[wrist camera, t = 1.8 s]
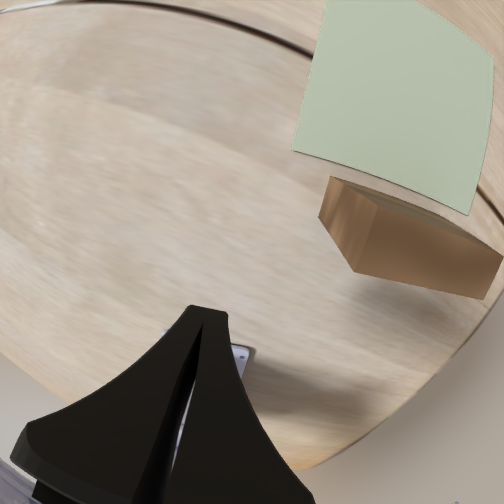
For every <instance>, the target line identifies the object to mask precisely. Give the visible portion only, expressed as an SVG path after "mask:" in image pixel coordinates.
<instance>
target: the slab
mask: <svg viewBox="0 0 504 504" xmlns="http://www.w3.org/2000/svg"><path fill="white" fill-rule="evenodd" d="M318 218H319V219H320V221H321V222H322V224H323V225H324V227H325V228H326V230H327V231H328V233H329V234H330V236H331V237H332V239H333V240H334V242H335V243H336V245H337V246H338V248H339V249H340V251H341V252H342V254H343V256H344V257H345V259H346V260H347V262H348V263H349V265H350V267H351V268H352V270H353V271H354V272H356V273H360V274H365V275H370V276H374V277H379V278H384V279H388V280H393V281H397V282H402V283H407V284H411V285H416V286H420V287H425V288H429V289H434V290H439V291H443V292H448V293H452V294H457V295H461V296H466V297H471V298H475V299H480V300H483V299H484V298H485V296H486V294H487V292H488V290H489V288H490V286H491V284H492V282H493V280H494V278H495V275H496V273H497V271H498V269H499V267H500V264H501V262H502V260H503V257H504V256H502V255H501V254H499V253H498V252H497V251H495V250H494V249H492V248H491V247H489V246H488V245H487V244H485V243H484V242H482V241H481V240H479V239H478V238H476V237H474V236H473V235H471V234H470V233H468V232H467V231H465V230H463V229H462V228H460V227H459V226H457V225H455V224H454V223H452V222H450V221H449V220H447V219H445V218H443V217H442V216H440V215H438V214H436V213H433V212H431V211H428V210H426V209H424V208H421V207H419V206H416V205H414V204H411V203H409V202H406V201H403V200H401V199H398V198H395V197H393V196H390V195H387V194H384V193H382V192H379V191H376V190H373V189H370V188H367V187H364V186H361V185H358V184H355V183H352V182H349V181H346V180H342V179H339V178H336V177H332V176H330V179H329V182H328V186H327V189H326V193H325V196H324V200H323V203H322V207H321V210H320V213H319V216H318Z"/></svg>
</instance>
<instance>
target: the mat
mask: <svg viewBox="0 0 504 504" xmlns="http://www.w3.org/2000/svg"><path fill="white" fill-rule="evenodd" d="M493 86H494V58H493V57H492V56H491V55H490V54H489V53H488V52H487V51H486V50H484V49H483V48H482V47H481V46H480V45H479V44H477V43H476V42H475V41H474V40H473V39H471V38H470V37H469V36H468V35H466V34H465V33H464V32H462V31H461V30H460V29H458V28H457V27H456V26H454V25H453V24H451V23H450V22H449V21H447V20H446V19H444V18H443V17H441V16H440V15H438V14H437V13H435V12H433V11H432V10H430V9H429V8H427V7H425V6H424V5H422V4H420V3H419V2H417V1H415V0H326V3H325V8H324V12H323V17H322V21H321V26H320V30H319V34H318V39H317V43H316V47H315V52H314V56H313V60H312V64H311V69H310V73H309V77H308V81H307V86H306V90H305V94H304V98H303V102H302V106H301V110H300V114H299V119H298V123H297V127H296V131H295V135H294V139H293V143H292V147H291V150H294V151H298V152H302V153H306V154H309V155H313V156H316V157H320V158H323V159H326V160H330V161H333V162H336V163H339V164H343V165H346V166H349V167H352V168H355V169H358V170H361V171H363V172H366V173H369V174H372V175H375V176H378V177H380V178H383V179H386V180H388V181H391V182H393V183H396V184H399V185H401V186H404V187H406V188H408V189H411V190H413V191H416V192H418V193H420V194H423V195H425V196H427V197H429V198H432V199H434V200H436V201H438V202H440V203H443V204H445V205H447V206H449V207H451V208H453V209H455V210H457V211H459V212H461V213H463V214H465V215H467V216H468V213H469V210H470V207H471V204H472V201H473V198H474V194H475V191H476V187H477V184H478V180H479V176H480V172H481V168H482V164H483V159H484V155H485V150H486V145H487V139H488V133H489V126H490V119H491V111H492V101H493Z"/></svg>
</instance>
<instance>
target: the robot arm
mask: <svg viewBox="0 0 504 504" xmlns="http://www.w3.org/2000/svg"><path fill="white" fill-rule="evenodd" d="M248 357H249V349H248V348H245V347H240V346H235V345H231V342H230V335H229V328H228V314H227V313H226V312H225V311H219V310H214V309H209V308H205V307H200V306H195V305H189V306H188V307H187V308H186V309H185V311H184V312H183V313H182V315H181V316H180V317H179V318H178V320H177V321H176V322H175V323H174V324H173V326H172V327H171V328H170V329H169V330H164V331H162V333H161V338H160V340H159V341H158V342H157V343H156V344H155V345H154V346H153V347H151V348H150V349H149V350H148V351H147V352H146V353H145V354H144V355H143V356H142V357H141V358H140V359H138V360H137V361H136V362H135V363H134V364H133V365H131V366H130V367H129V368H128V369H126V370H125V371H124V372H122V373H121V374H120V375H119V376H117V377H116V378H114V379H113V380H111V381H110V382H109V383H107V384H106V385H104V386H103V387H101V388H100V389H98V390H96V391H95V392H93V393H92V394H90V395H88V396H86V397H84V398H82V399H81V400H79V401H77V402H75V403H73V404H71V405H69V406H67V407H65V408H63V409H61V410H59V411H57V412H54V413H52V414H49V415H46V416H44V417H41V418H39V419H36V420H33V421H31V422H28V423H27V425H26V426H25V428H24V429H23V431H22V432H21V434H20V436H19V438H18V440H17V442H16V444H15V446H14V449H13V451H12V453H11V455H10V459H11V461H12V462H13V463H14V464H15V465H17V466H18V467H20V468H21V469H22V470H24V471H25V472H27V473H28V474H29V475H31V476H33V477H34V478H35V479H37V482H36V484H35V483H33V482H32V481H30V480H29V479H27V478H26V477H24V476H23V475H21V474H20V473H19V472H17V471H16V470H15V469H13V468H12V467H11V466H9V465H8V464H7V463H6V462H4V461H3V460H2V459H1V458H0V504H316V503H315V500H314V498H313V495H312V493H311V492H310V491H309V490H308V489H307V488H306V487H305V486H304V484H303V483H302V482H301V481H300V480H299V479H298V477H297V476H296V475H295V474H294V473H293V471H292V470H291V469H290V468H289V466H288V465H287V464H286V462H285V461H284V460H283V458H282V457H281V455H280V454H279V453H278V451H277V450H276V448H275V446H274V445H273V443H272V442H271V440H270V438H269V437H268V435H267V434H266V432H265V430H264V429H263V427H262V425H261V423H260V421H259V419H258V417H257V416H256V414H255V412H254V410H253V407H252V405H251V403H250V401H249V399H248V396H247V394H246V391H245V389H244V386H243V384H242V381H241V378H242V375H243V372H244V369H245V366H246V363H247V360H248ZM453 504H459V503H458V502H455V503H453Z"/></svg>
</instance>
